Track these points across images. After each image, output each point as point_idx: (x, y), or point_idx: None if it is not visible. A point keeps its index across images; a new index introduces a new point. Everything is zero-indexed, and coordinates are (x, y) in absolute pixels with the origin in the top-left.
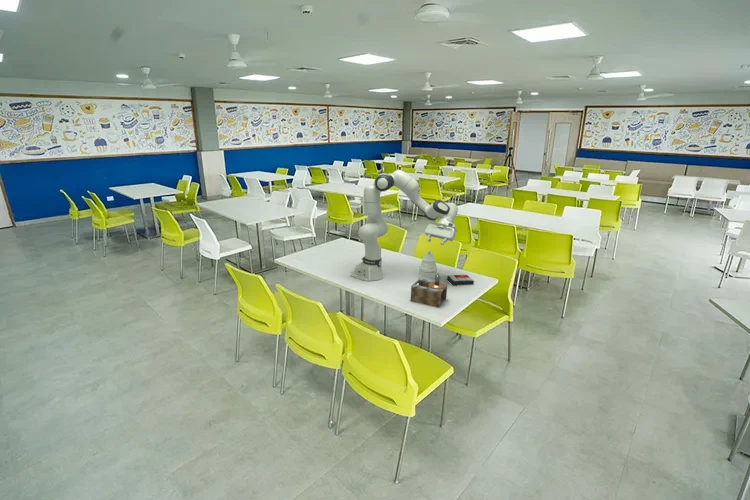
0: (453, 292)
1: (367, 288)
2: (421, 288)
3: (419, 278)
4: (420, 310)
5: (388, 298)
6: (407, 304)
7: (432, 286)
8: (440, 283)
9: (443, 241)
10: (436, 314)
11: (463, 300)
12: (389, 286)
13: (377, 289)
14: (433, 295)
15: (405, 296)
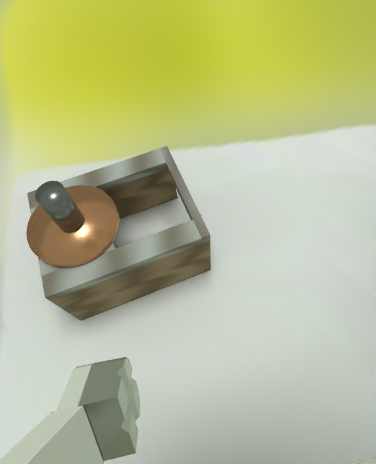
0: None
1: (366, 146)
2: (119, 164)
3: (207, 231)
4: None
5: (242, 151)
6: None
7: (76, 189)
8: (64, 247)
9: (59, 412)
10: None
11: (6, 377)
12: (344, 219)
13: (338, 166)
14: None
15: (218, 204)
